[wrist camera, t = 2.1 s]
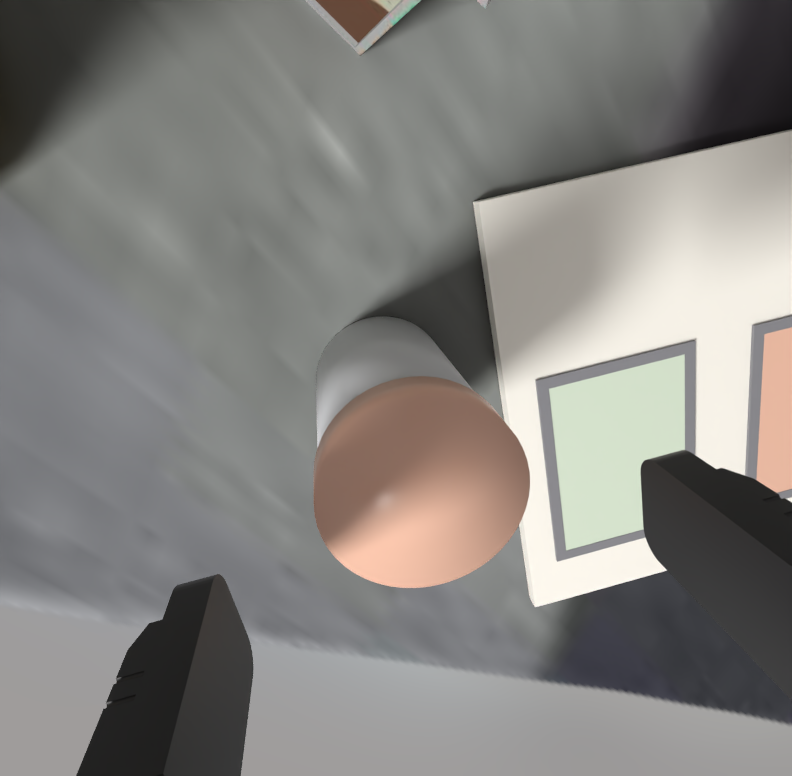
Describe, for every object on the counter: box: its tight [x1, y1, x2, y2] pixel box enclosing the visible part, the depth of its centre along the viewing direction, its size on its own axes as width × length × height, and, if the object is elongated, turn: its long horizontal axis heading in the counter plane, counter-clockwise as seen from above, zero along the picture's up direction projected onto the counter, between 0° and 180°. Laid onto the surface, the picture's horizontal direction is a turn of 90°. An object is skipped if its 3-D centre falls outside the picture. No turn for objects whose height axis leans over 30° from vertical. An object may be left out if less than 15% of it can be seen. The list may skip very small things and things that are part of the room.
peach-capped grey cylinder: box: [314, 316, 530, 588], centre depth 15 cm, size 5×5×8 cm
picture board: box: [473, 129, 792, 607], centre depth 20 cm, size 16×19×1 cm
